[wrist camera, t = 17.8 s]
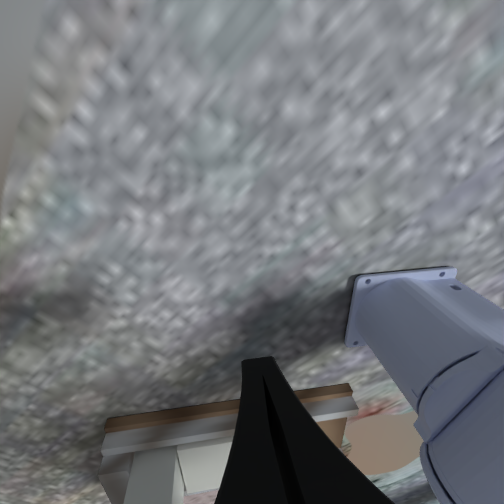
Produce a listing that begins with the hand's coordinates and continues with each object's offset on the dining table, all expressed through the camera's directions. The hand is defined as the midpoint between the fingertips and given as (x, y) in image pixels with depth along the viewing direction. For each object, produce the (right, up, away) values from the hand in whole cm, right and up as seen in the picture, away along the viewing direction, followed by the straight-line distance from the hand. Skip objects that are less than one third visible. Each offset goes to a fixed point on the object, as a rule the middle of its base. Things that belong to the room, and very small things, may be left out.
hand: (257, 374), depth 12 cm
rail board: (-2, -15, +19) cm, 24 cm away
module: (-10, -16, +17) cm, 25 cm away
